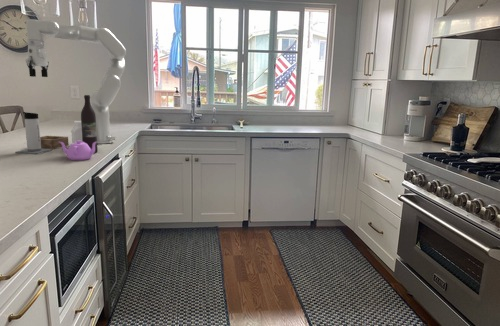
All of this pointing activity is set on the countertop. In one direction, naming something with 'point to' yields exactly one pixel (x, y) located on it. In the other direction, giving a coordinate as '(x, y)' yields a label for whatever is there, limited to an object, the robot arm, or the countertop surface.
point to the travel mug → (32, 131)
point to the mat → (34, 151)
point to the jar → (76, 132)
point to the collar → (53, 142)
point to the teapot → (79, 150)
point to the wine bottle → (88, 124)
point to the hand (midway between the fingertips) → (38, 76)
